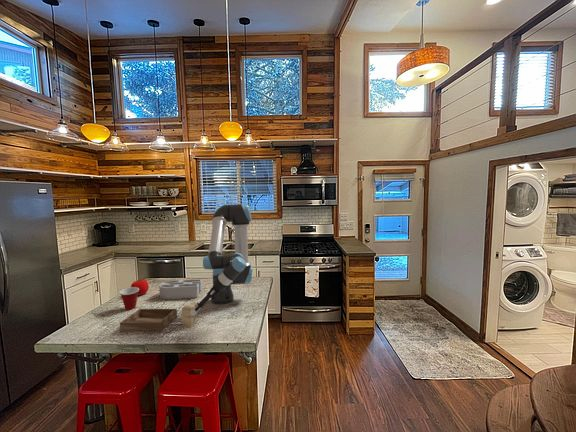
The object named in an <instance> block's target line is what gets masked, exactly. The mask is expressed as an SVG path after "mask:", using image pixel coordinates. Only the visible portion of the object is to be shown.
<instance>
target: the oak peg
mask: <svg viewBox="0 0 576 432" xmlns="http://www.w3.org/2000/svg"><path fill="white" fill-rule="evenodd" d="M195 307H196V306H195V304H185V305H184V306H183V307H182V308H181V315H182V316H181V318H182V321H181V322H182V327H183V328H185V327H187V328H188V327H193V326H194V325H195V323H196V314H195V315H194V316H193V315H192V314H190V312H191V311H192V310H193V309H194V308H195Z"/></svg>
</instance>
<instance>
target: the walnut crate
mask: <svg viewBox="0 0 576 432" xmlns="http://www.w3.org/2000/svg"><path fill="white" fill-rule="evenodd" d="M177 309H178V308H139V309H138V310H136V311H134V312H133V313H131V314H130V315H129V316H126V318H124V319H123V320H122V321H120V322H119V332H120V333H162V332H163V331H164V330H165V329H166V328H168V327H169V325H171V324H172V323H173V322H174V321H175V320H176V319H177V318H178V310H177Z"/></svg>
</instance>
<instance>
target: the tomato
mask: <svg viewBox="0 0 576 432" xmlns="http://www.w3.org/2000/svg"><path fill="white" fill-rule="evenodd" d="M131 287H136V288H139V291H138V295H137V296H142V295H145V294H147V293H148V290H149V289H150V287H149V282H148V281H147V280H145V279H138V280H135V281H133V282H132V283H131V285H130V288H131Z"/></svg>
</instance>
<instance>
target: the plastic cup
mask: <svg viewBox="0 0 576 432" xmlns="http://www.w3.org/2000/svg"><path fill="white" fill-rule="evenodd" d="M138 291H139V288H136V287H131V286H130V287H128V288H123V289H120V291H119V295H120V296H121V299H122V302H123V306H124V309H125V311H133V310H135V309H136V308H137V302H138V301H137V300H138V296H139V295H138Z"/></svg>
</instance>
